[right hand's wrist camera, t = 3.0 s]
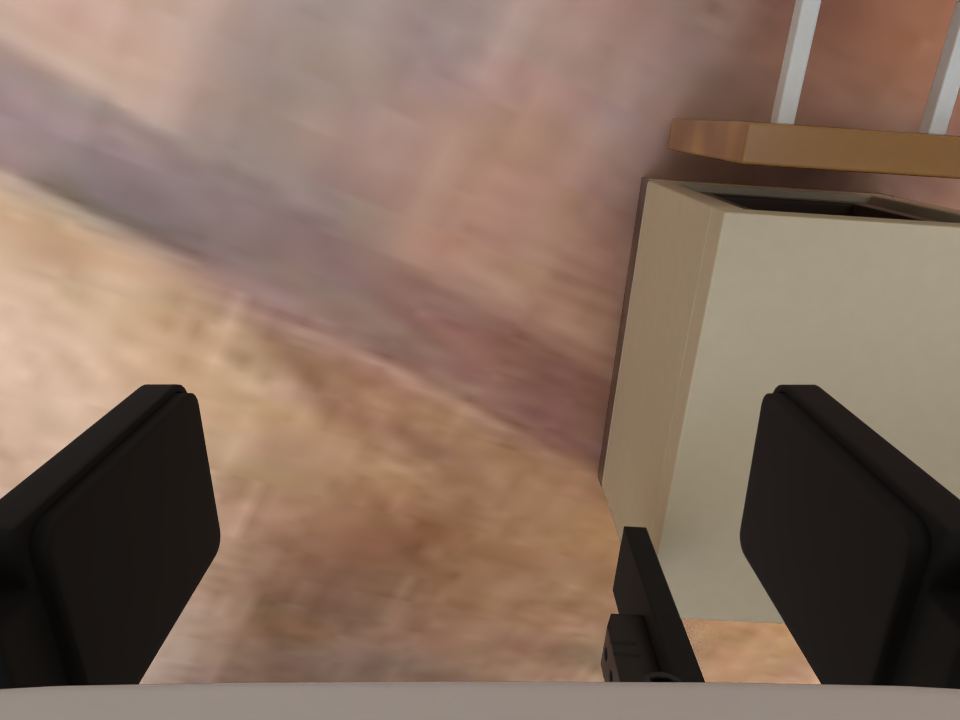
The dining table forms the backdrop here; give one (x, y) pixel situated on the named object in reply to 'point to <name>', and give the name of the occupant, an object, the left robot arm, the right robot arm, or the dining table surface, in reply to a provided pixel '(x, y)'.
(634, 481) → the cabinet
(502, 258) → the dining table surface
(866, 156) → the drawer
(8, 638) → the right robot arm
